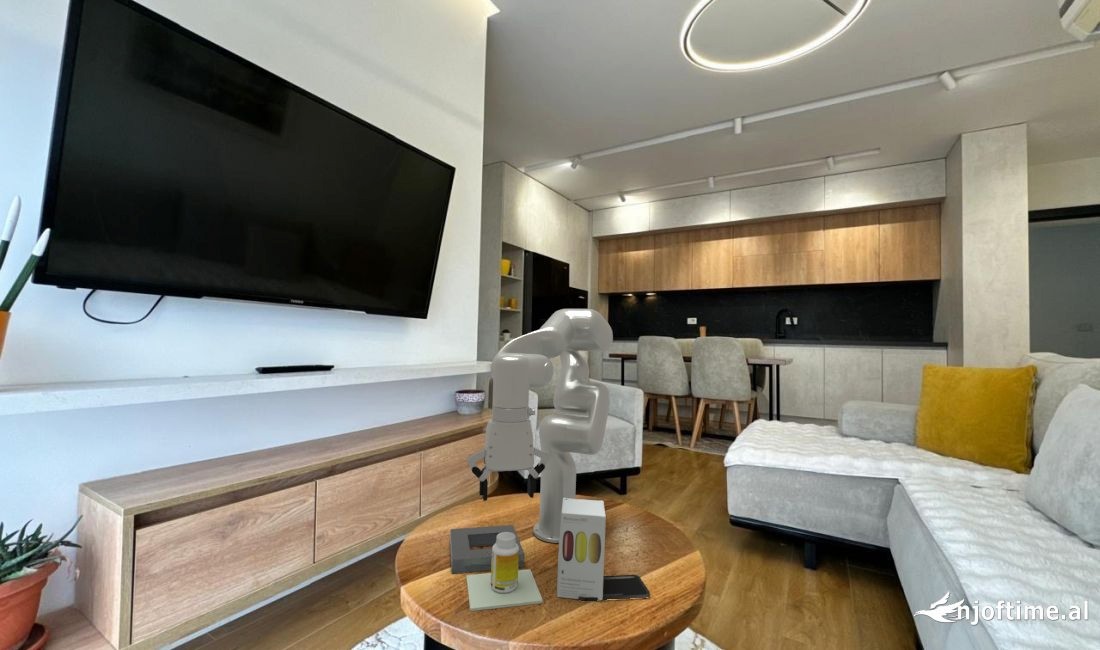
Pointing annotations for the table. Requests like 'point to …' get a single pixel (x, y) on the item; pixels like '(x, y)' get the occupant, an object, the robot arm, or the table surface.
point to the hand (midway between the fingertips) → (507, 497)
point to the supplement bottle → (504, 563)
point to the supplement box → (581, 549)
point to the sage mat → (490, 599)
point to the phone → (621, 588)
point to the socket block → (477, 558)
